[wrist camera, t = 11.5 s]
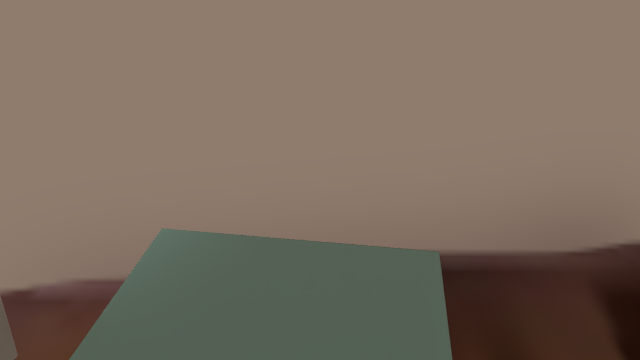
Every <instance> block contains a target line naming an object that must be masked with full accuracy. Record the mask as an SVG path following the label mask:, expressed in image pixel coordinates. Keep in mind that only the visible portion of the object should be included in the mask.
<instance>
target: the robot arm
mask: <svg viewBox="0 0 640 360" xmlns="http://www.w3.org/2000/svg"><path fill="white" fill-rule="evenodd" d="M17 356H18V354H17V351H16V348H15V344H14V341H13V337H12V334H11V330H10V327H9V324H8V320H7V317H6V313H5V310H4V307H3V303H2V300H1V296H0V360H14V359H15V358H16V357H17Z"/></svg>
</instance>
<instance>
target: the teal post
mask: <svg viewBox="0 0 640 360" xmlns="http://www.w3.org/2000/svg"><path fill="white" fill-rule="evenodd" d="M69 360H452V353H451V345H450V337H449V329H448V321H447V312H446V304H445V296H444V288H443V280H442V272H441V264H440V255H439V252H437V251H425V250H413V249H401V248H389V247H377V246H365V245H353V244H341V243H329V242H318V241H305V240H294V239H281V238H270V237H257V236H246V235H234V234H222V233H210V232H197V231H186V230H174V229H161V231H160V232H159V234H158V235H157V237H156V238H155V239H154V241H153V242H152V244H151V245H150V246H149V248H148V249H147V251H146V252H145V253H144V255H143V256H142V258H141V259H140V261H139V262H138V264H137V265H136V266H135V267H134V269H133V270H132V272H131V273H130V275H129V276H128V277H127V279H126V280H125V282H124V283H123V284H122V286H121V287H120V289H119V290H118V292H117V293H116V294H115V296H114V297H113V299H112V300H111V301H110V303H109V304H108V306H107V307H106V308H105V310H104V311H103V313H102V314H101V316H100V317H99V318H98V320H97V321H96V323H95V324H94V325H93V327H92V328H91V330H90V331H89V333H88V334H87V335H86V337H85V338H84V340H83V341H82V342H81V344H80V345H79V347H78V348H77V349H76V351H75V352H74V354H73V355H72V357H71V358H70V359H69Z"/></svg>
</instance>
